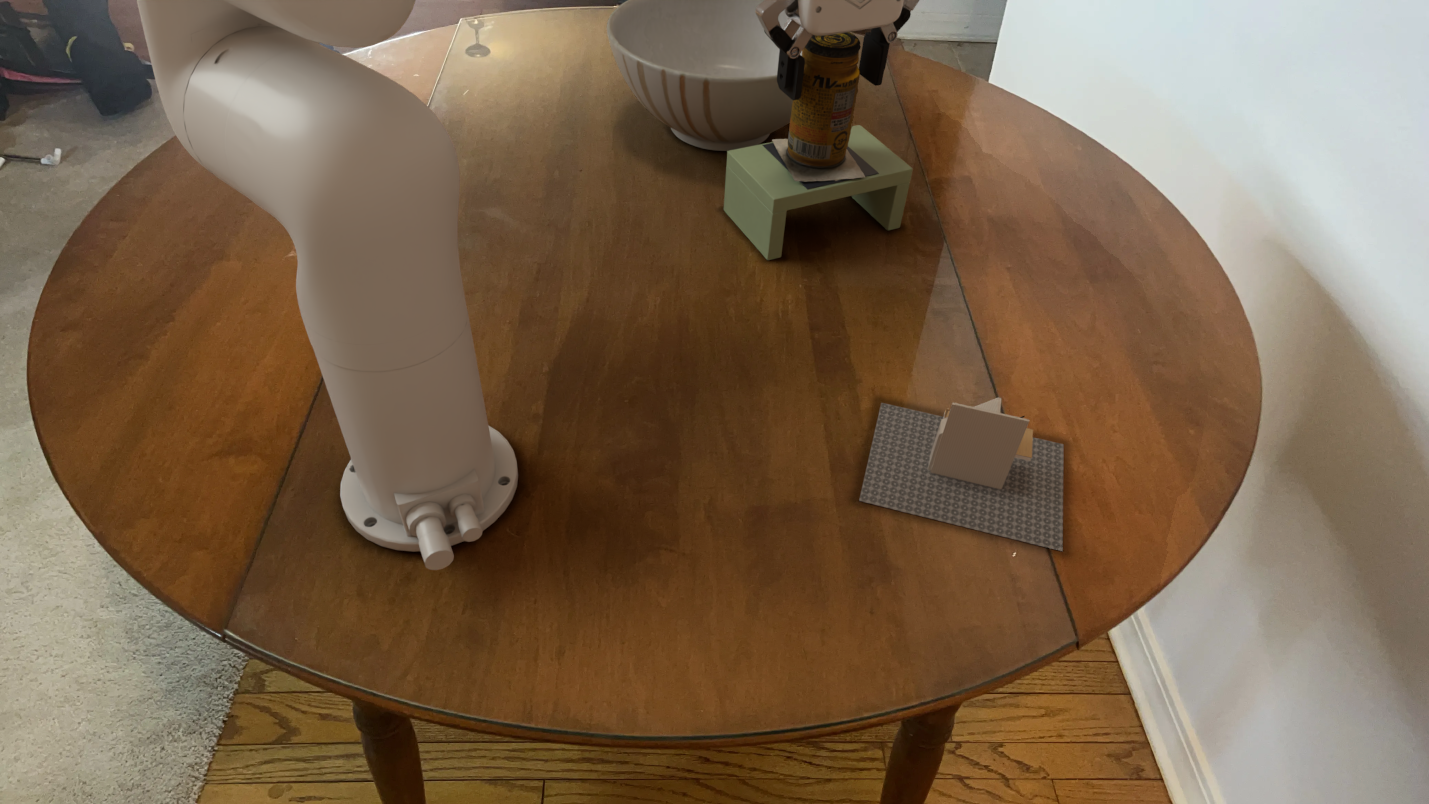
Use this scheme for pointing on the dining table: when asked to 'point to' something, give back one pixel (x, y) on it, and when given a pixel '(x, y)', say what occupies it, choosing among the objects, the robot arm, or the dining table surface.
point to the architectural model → (968, 471)
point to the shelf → (810, 189)
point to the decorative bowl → (702, 69)
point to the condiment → (824, 112)
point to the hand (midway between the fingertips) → (830, 86)
